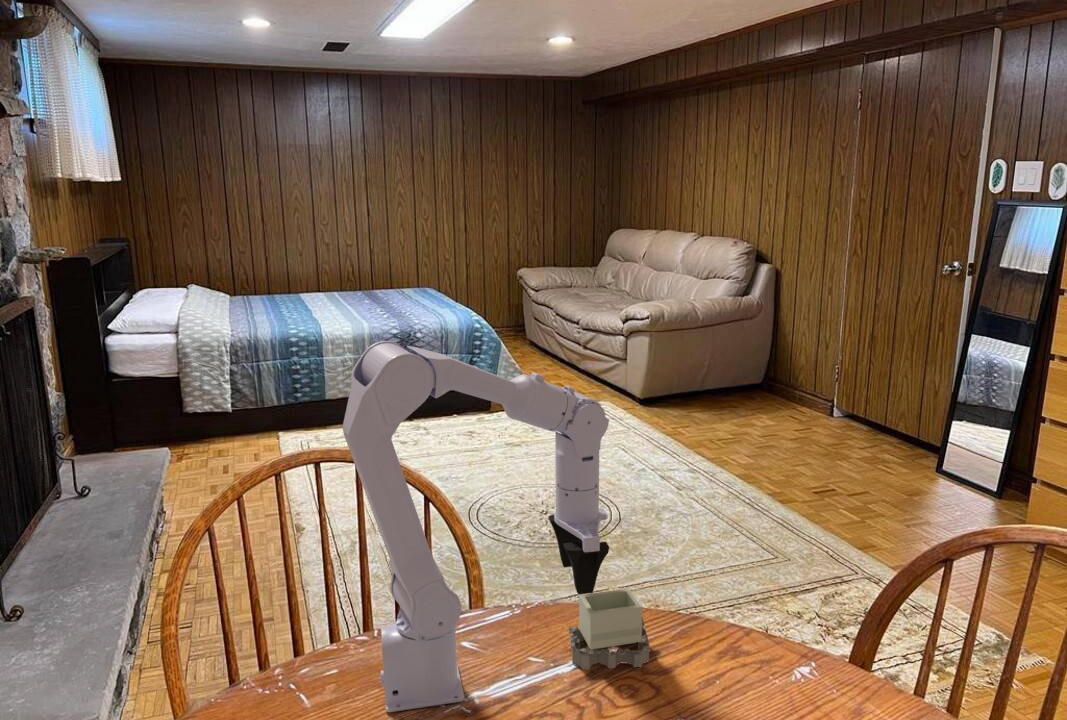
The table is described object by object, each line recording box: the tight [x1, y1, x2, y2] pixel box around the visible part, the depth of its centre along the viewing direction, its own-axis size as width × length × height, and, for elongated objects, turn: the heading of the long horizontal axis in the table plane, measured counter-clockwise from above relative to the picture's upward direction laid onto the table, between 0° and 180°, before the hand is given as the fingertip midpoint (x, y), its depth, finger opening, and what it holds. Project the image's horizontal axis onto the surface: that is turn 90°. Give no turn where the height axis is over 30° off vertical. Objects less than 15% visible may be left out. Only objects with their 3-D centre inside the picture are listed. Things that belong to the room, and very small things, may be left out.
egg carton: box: [568, 616, 651, 670], centre depth 106 cm, size 11×8×4 cm
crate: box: [578, 588, 643, 650], centre depth 105 cm, size 7×5×5 cm
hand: (577, 578), depth 107 cm, fingers open, 7 cm apart
